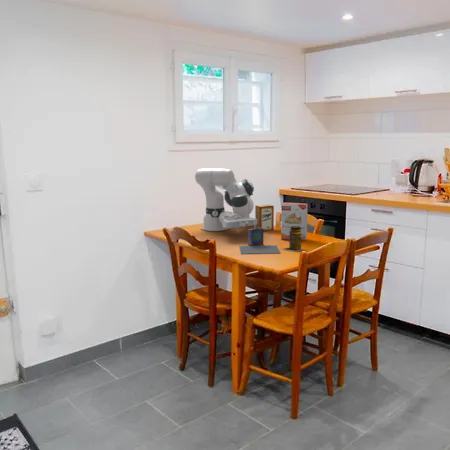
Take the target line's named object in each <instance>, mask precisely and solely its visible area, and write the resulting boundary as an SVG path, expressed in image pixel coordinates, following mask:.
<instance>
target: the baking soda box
mask: <svg viewBox="0 0 450 450" xmlns="http://www.w3.org/2000/svg"><path fill="white" fill-rule="evenodd" d="M254 206H255V207H254V209H255V210H254V211H255V217H254V218H256V219H257V225H256V227H257V228H258V227H260V228H263V232H270V231H272V232H273V231H274V230H275V229H274V227H275V226H274V225H275V224H274V221H275V220H274V216H275V215H274V213H275V208H274V205H272V204H257V205H254Z"/></svg>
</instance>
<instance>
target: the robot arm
mask: <svg viewBox="0 0 450 450" xmlns="http://www.w3.org/2000/svg"><path fill="white" fill-rule="evenodd" d="M194 179H195V183H197V185H199V186H200V187H201V188H202V190H203V192H204V195H205V202H206V203H205V204H206V205H205V215H204V216H203V220H202V221H203V226H201V227H200V230H202V231H209V232H219V231H220V232H221V231H227V230H231V229H234V230H237V229H240V228H241V227H249V226H255V225H257V219H256V218H255V217H250V214H251V213H252V212H253V210H254V208H255V207H254V206H255V205H254V201H253V199H252V198H251V196H253V195H254V194H253V193H254V189H255V186H254V185H253V182H251V181H250V180H249V179H245V178H244V179H243V180H241V181H240V182H237V179H236V177H235V173H234V171H233V170H232V169H229V168H215V167H213V168H212V167H210V168H209V167H206V168H205V167H204V168H198V169H197V171H195V175H194ZM216 187H217V188H218V189H221V190H225V191H224V194H223V193H222V192H220V191H218V189H217V188H216ZM224 201H225V202H224ZM224 203H226V204H227V205H228V206H230V207H232V211H225V210H226V209H225V207H224V206H225V205H224Z"/></svg>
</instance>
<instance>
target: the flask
mask: <svg viewBox="0 0 450 450" xmlns="http://www.w3.org/2000/svg"><path fill="white" fill-rule="evenodd" d="M247 232H248V234H247V235H248V236H247V237H248V238H247V239H248V241H247V242H248V244H247V246H264V231H263V228H260V227H258V228H257V227H256V225H253V228H249V229H247Z"/></svg>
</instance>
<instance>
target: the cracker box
mask: <svg viewBox="0 0 450 450" xmlns="http://www.w3.org/2000/svg"><path fill="white" fill-rule="evenodd" d="M308 205H309V204H308V203H304V202H303V203H302V202H300V203H299V202H283V203H281V216H280V217H281V218H280V219H281V222H280V224H281V225H280V227H281V228H280V230H281V231H280V239H281V240H283V241H284V240H287V241H290V229H291V226H299V227H301V242H305V241H307V239H308V207H309V206H308Z"/></svg>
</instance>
